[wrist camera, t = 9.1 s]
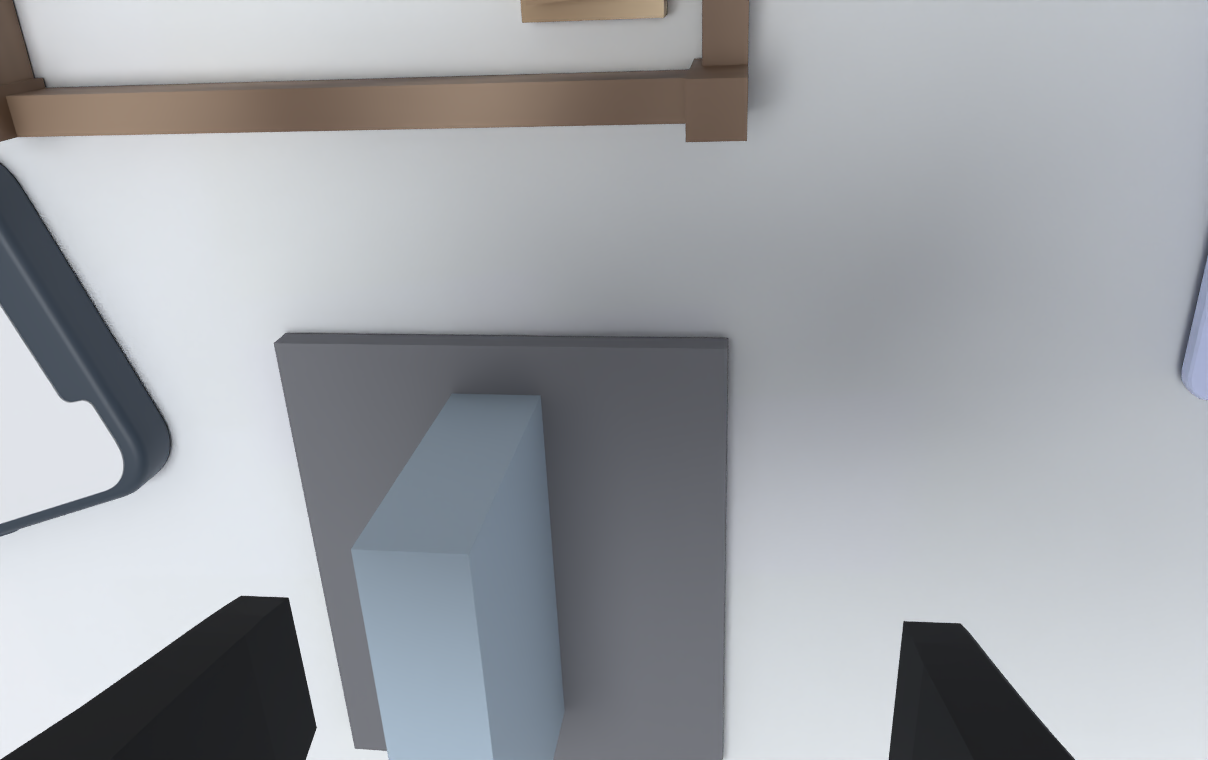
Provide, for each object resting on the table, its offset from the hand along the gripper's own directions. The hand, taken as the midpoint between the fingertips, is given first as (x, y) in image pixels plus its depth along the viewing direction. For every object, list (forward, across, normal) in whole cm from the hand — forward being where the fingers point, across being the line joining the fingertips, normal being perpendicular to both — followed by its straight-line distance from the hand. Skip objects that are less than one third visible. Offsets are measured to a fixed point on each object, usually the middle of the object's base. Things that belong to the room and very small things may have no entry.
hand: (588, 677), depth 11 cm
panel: (+10, +3, +6) cm, 12 cm away
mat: (+10, +3, +6) cm, 12 cm away
